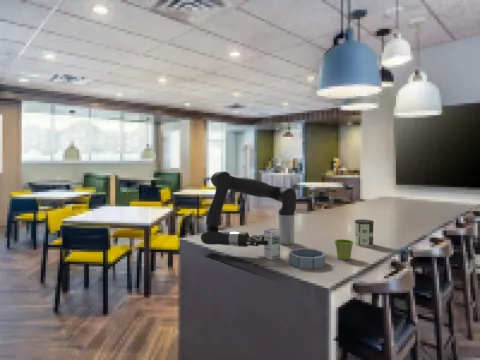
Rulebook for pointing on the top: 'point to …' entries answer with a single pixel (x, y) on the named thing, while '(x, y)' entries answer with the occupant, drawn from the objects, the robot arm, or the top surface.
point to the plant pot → (343, 248)
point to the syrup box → (272, 244)
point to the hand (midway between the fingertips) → (269, 241)
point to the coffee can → (364, 233)
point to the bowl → (307, 258)
